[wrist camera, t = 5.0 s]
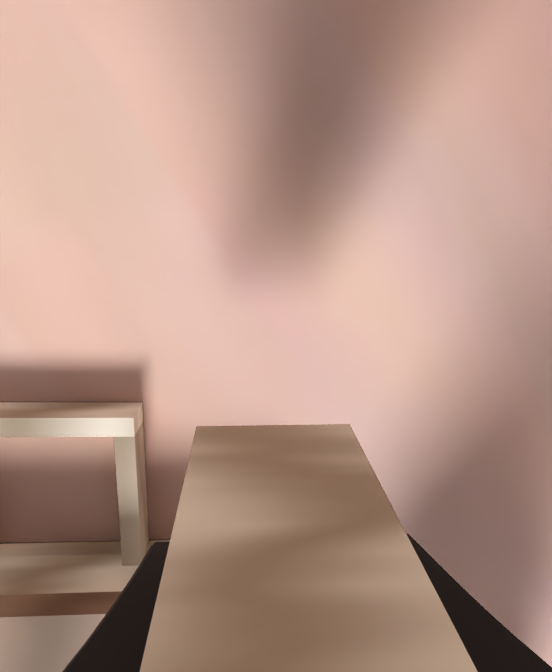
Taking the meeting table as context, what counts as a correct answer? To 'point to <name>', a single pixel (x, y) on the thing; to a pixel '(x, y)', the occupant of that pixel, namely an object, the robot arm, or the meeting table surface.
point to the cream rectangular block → (293, 564)
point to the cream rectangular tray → (126, 555)
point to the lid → (48, 628)
